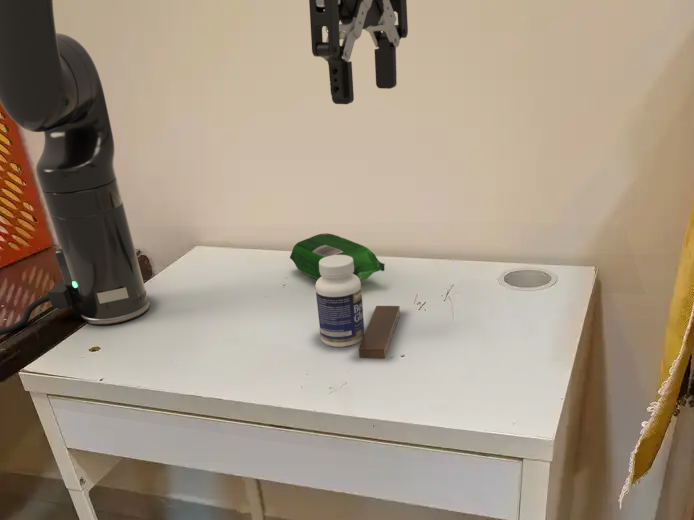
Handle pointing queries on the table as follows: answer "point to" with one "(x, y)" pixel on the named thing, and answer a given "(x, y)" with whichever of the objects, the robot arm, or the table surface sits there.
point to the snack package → (327, 245)
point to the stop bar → (379, 332)
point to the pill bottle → (339, 302)
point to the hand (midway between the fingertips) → (365, 95)
